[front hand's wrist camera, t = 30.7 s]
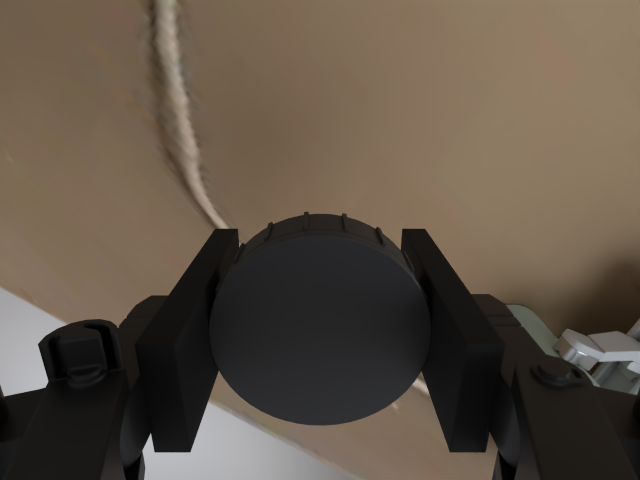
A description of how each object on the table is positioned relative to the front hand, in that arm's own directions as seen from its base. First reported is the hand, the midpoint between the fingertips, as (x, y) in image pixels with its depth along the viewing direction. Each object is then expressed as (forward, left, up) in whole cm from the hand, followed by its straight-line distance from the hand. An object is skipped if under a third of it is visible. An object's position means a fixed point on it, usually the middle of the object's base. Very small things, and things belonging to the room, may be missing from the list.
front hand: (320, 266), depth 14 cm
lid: (0, 0, +4) cm, 4 cm away
